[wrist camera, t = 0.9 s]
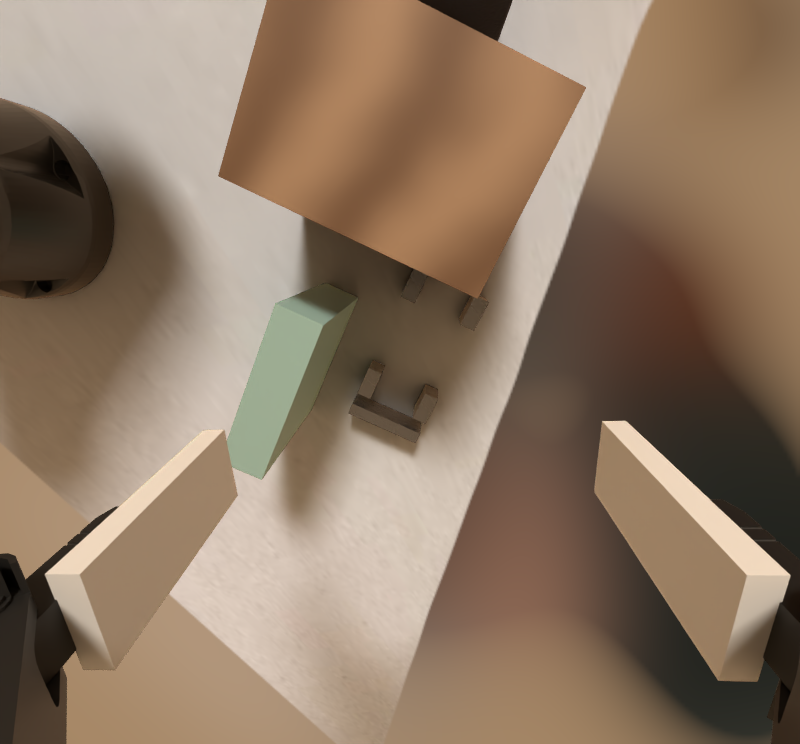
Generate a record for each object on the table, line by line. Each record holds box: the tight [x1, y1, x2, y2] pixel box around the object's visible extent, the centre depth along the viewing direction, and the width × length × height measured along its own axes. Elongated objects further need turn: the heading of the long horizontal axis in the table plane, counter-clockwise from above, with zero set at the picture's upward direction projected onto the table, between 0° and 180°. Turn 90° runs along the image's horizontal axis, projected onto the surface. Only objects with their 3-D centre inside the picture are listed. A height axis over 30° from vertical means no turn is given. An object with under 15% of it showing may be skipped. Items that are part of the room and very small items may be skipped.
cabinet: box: [218, 0, 586, 299], centre depth 26 cm, size 14×10×14 cm
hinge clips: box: [349, 269, 489, 443], centre depth 35 cm, size 6×14×2 cm, turn 156°
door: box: [227, 283, 358, 480], centre depth 32 cm, size 3×12×12 cm, turn 155°
